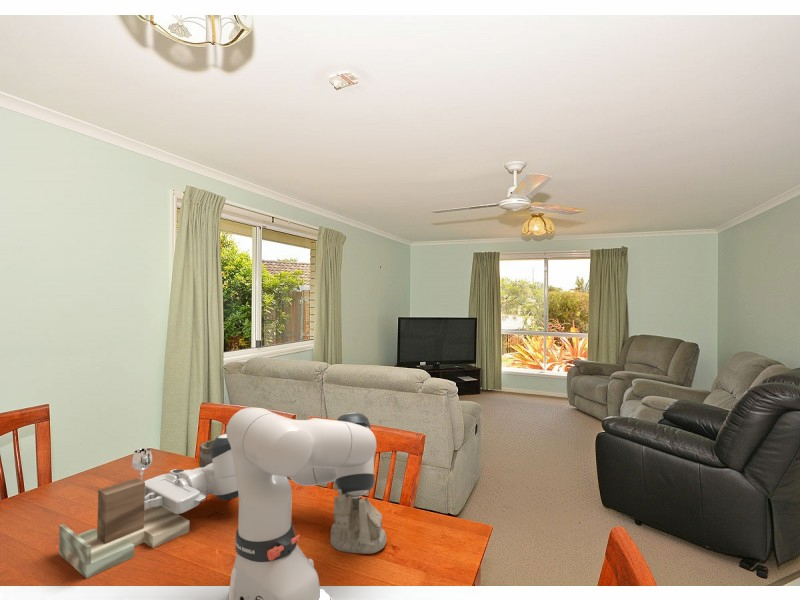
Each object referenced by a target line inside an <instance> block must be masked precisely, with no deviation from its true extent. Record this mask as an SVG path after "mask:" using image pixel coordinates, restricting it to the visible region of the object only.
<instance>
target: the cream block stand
mask: <svg viewBox="0 0 800 600" xmlns="http://www.w3.org/2000/svg"><path fill="white" fill-rule="evenodd" d="M189 532H190V520H189V519H187V518H185V517H184V516H181V515H180V514H175V513H173V512H171V511H169V510H168V509H166V508H164V507H162V506H161V505H160V506H157V507H149V508H146V509H144V528H143V529H141V530H138V531H136V532H133V533H131V534H128V535H126V536H124V537H121V538H119V539H116V540H114V541H111V542H109V543H106V544H104V543H103V542H102V541H100V540H99V539H98V538H97V529H96V528H91V529H89V530H87V531H84V532H81V533H79V534H77V533H76V532H74V531H73V530H72V529H70V527H68V526H67V525H65V524H64V523H63V524H60V525H59V534H58V536H59V538H58V539H59V540H58V555H59V556H61V557H62V558H63V559H64V560H65V561H66V562H67V563H69V564H70V565H71V566H72V567H73V568H74V569H75V570H77V572H79V573H80V575H82V576H83V577H84V578H85V579H86V580H87V579H89V578H91V577H93V576H95V575H98V574H100V573H101V572H104V571H106V570H109V569H111V568H113V567H115V566H117V565H120V564H121V563H123V562H126V561H128V560H131V559H133V558H134V557H135V547H137V546H139V545H142V544H143V543H144V544H146V545H148V546H149V547H150V548H152V549H154V548H157V547H159V546H161V545H164V544H165V543H168V542H170V541H172V540H174V539H177V538H179V537H181V536H183V535H186V534H187V533H189Z"/></svg>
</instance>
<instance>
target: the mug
mask: <svg viewBox="0 0 800 600" xmlns="http://www.w3.org/2000/svg"><path fill="white" fill-rule="evenodd" d="M214 440H215V439H212V440H206V441H204V442H202V443H201V444H200V445H199V446H198V448H199V460H198V465H199V466H198V468H202V467H205V466H207V465H208V464H211V463H212V459H211V454H210V449H209V448H210V446H211V444H212V443H213V441H214Z"/></svg>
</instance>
